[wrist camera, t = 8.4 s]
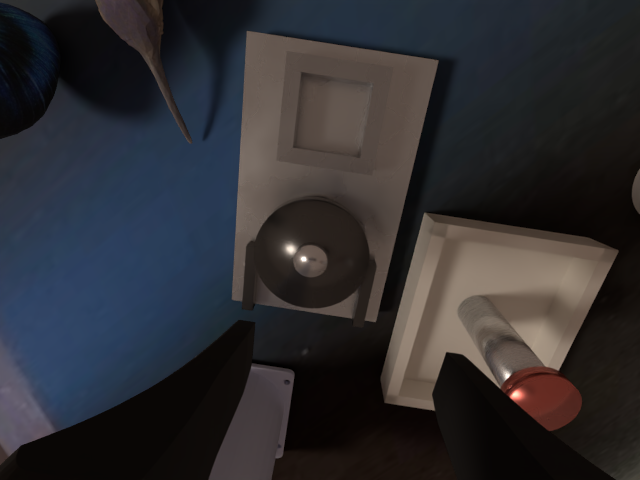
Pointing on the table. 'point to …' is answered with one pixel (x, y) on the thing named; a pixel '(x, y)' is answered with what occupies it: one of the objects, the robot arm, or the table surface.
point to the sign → (636, 192)
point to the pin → (519, 366)
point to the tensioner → (324, 172)
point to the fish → (25, 69)
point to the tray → (495, 284)
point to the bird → (143, 38)
